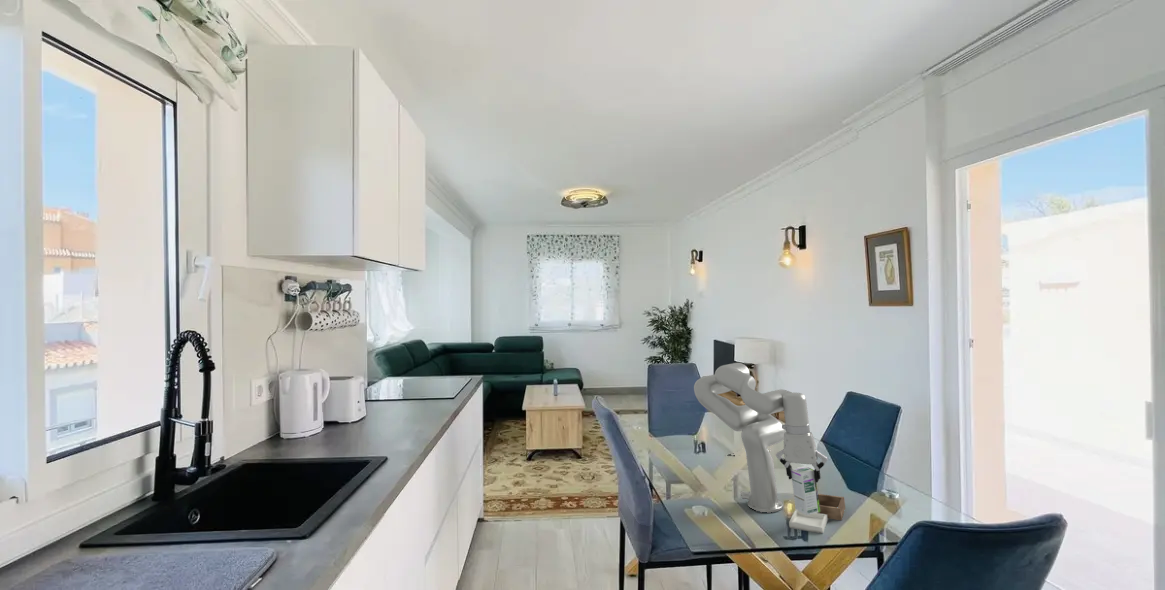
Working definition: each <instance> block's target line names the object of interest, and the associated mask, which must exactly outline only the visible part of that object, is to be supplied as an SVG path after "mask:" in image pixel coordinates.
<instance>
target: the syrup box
mask: <svg viewBox="0 0 1165 590" xmlns="http://www.w3.org/2000/svg"><path fill="white" fill-rule="evenodd" d="M814 470H815V469H814V468H811V467H809V466H805V465H802V466H799V467H795V468H792V469H791V477H792V478H791V483H792V484H791V485H792V492H793V499H794V505H795V506H794V507H795V510H798V511H799V512H801V513H803V514H805V515H810V514H814V513H818V512H820V505H819V498H818V494H819V490H818V484H817V483H818V482H815V476H814Z"/></svg>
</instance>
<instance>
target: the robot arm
mask: <svg viewBox="0 0 1165 590" xmlns="http://www.w3.org/2000/svg"><path fill="white" fill-rule="evenodd" d="M756 386H757V382H756V378H754V377H753V376H752V375H751V373H750V369H749V368H748V367H747V365H746V364H744V363H741V362H733V363H729V364H723V365H720V366H719V367H718V368H717V369H715V372H714V374H711V375H706V376H702V377H700V378H698V379H697V380H696V381H695V383H694V384H693V391H694V392H693V393H694V395H695V397H696V399H697V401H698V402H699V404H701V406H702V407H704V408H705V409H706V410H708V412H709V411H710V412H711V413H712V414H714V415H715V416H716V417H717V418H718V419H719V420H721V421H722V422H723V423H724V424H725V425H727V427H729V428H730V429H731V430H732V431H734V432H741V441H742V444H743V448H745V452H746V456H745V457H746V464H747V465H746V466H747V472H748V480H749V481H748V482H749V488H750V491H748V492H747V491H744V490H743V491H740V497H741V498H742V499H743V500H748V501H747V507H748V506H749V507H750V508H752V509H754V510H756V511H755V512H757V511H760V512H759V513H762V512H767V513H766V514H770V513H771V512H772V513H777V512H780V511H781V510H782V509H783V507H784V505H783V502H782V501H781V500H780V499H779V498H778V491H777V483H776V482H777V480H776V473H775V465H774V459H773V457H772V454H771V453H770V452H769V451H768V448H769V447H770V446H774V445H777V444H779V443H782V442H783V449H782V450H780V451H778V452H776V454H775V456H776V458H777V460H779V462H780V463H781V464H782V465H783V466H784V467H785V471H786V476H787V477H788V480H792V477H791V469H793V466H792V465H791V464H800V465H801V464H802V465H811V466H812V467H813V470H814V476H815V482H817V483H819V481H820V480H821V478H822V477H821V469H822V468H823V467H824V466H825V465H826V463H827V462H828V459H829V458H828V457H827V456H826V455H824V454H823V453H821V452H819V451H818V449H817V447H816V446H817V445H816V441H815V438H814V437H815V436H814V435H813V433H812V431H811V430H810V423H809V422H810V421H809V420H810V419H809V414H808V404H807V398H806V395H805V394H804V393H801V392H792V391H789V390H786V389H781V388H780V389H776V390H771V391H767V392H763V393H761V392H759V391H757V390H755V389H756ZM731 391H733V392H734V393H736V394H738V395H740V397H741V399H742V402H743V403H744V405H743V404H742V405H736V404H735V403H734V402H732V401H731V400H730V399H728V398H727V397H725V396H721V395H720V394H725V393H728V392H731ZM779 412H784V413H783V414H784V422H785V424H782V422H781V421H780V420H778V419H777V417H774V416H773V415H772V414H775V413H779ZM783 456H784V457H783ZM818 458H820V459H821V461H820V462H818V461H817V460H818ZM749 507H748V508H749ZM750 508H749V509H750ZM752 509H751V510H752ZM754 510H753V511H754Z"/></svg>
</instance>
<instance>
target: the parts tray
mask: <svg viewBox="0 0 1165 590" xmlns="http://www.w3.org/2000/svg"><path fill="white" fill-rule="evenodd" d="M828 521H829V518H828V517H827V514H820V513H814V514H810V515H805V514H803V513H801V512H799V511H798V510H796V509H794V511H793V513H792V516H791V518H790V520H789V521H788V526H789V529H793V528H794V529H795V530H798V529H799V530H800V531H804V532H805V531H806V532H809V533H810V532H811V533H816V534H817V533H818V534H822V533H823V534H824V532H825V529H826V526H827V524H828Z"/></svg>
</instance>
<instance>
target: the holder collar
mask: <svg viewBox="0 0 1165 590" xmlns="http://www.w3.org/2000/svg"><path fill="white" fill-rule="evenodd" d="M818 498H819V505H820V512H818V513H820V514H827V517H828V520H829V519H830V520H835V521H836V520H837V521H842V520H843V517H844V514H845V511H846V502H845V501H846V500H845V497H844V496H838V495H831V494H829V495H828V494H822V493H818ZM837 507H838V508H837ZM844 510H845V511H844Z"/></svg>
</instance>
